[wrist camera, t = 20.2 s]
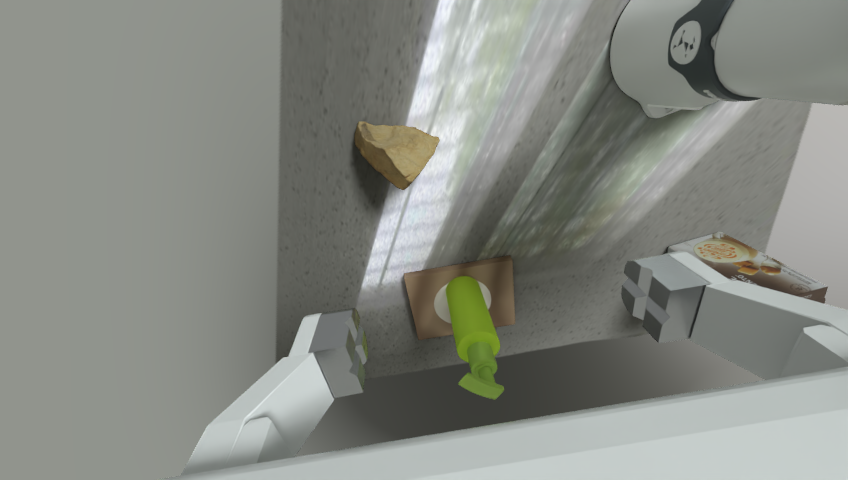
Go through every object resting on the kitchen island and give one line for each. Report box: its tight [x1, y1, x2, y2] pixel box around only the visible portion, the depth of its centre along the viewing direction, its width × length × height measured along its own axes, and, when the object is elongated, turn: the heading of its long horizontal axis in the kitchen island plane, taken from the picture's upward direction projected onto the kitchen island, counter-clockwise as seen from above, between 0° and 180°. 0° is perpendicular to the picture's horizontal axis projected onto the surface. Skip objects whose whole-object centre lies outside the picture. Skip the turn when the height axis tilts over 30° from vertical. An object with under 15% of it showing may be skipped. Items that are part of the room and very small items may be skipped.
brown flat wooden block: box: [404, 255, 515, 340], centre depth 58 cm, size 18×14×2 cm
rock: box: [354, 122, 440, 190], centre depth 43 cm, size 11×9×10 cm
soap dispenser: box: [446, 276, 504, 399], centre depth 48 cm, size 6×7×20 cm
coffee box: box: [668, 232, 828, 304], centre depth 51 cm, size 9×6×16 cm
